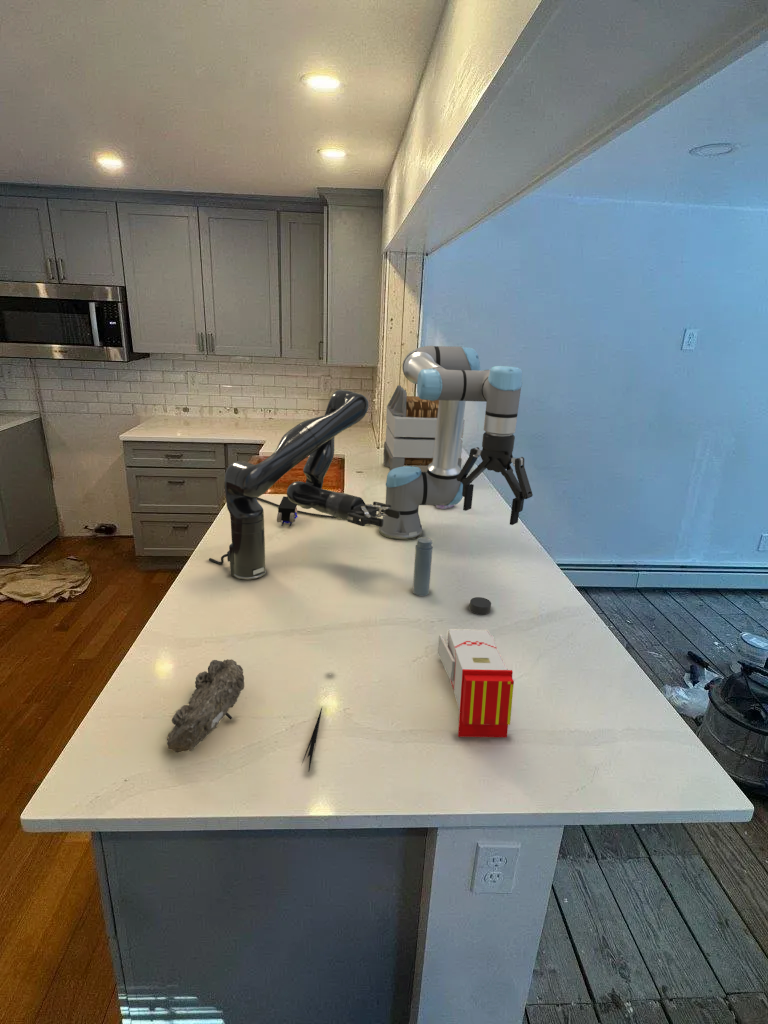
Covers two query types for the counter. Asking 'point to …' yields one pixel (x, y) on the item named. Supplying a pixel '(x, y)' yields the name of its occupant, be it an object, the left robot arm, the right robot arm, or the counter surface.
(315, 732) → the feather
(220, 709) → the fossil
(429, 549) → the grey cylinder
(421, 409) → the grey slatted wooden crate
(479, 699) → the toy
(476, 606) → the lid
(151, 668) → the counter surface
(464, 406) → the right robot arm
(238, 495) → the left robot arm
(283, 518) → the figurine character
